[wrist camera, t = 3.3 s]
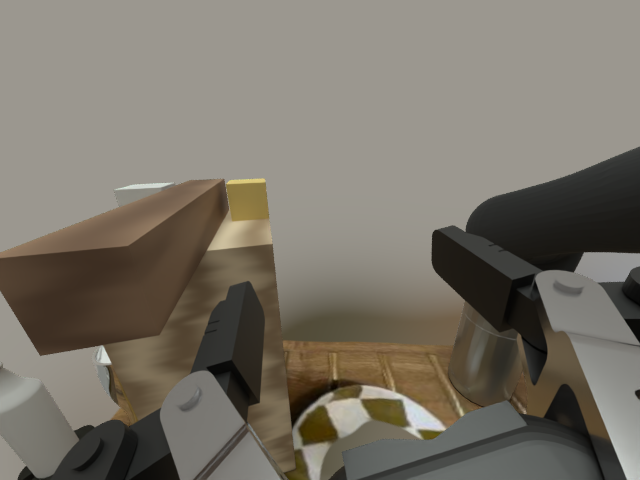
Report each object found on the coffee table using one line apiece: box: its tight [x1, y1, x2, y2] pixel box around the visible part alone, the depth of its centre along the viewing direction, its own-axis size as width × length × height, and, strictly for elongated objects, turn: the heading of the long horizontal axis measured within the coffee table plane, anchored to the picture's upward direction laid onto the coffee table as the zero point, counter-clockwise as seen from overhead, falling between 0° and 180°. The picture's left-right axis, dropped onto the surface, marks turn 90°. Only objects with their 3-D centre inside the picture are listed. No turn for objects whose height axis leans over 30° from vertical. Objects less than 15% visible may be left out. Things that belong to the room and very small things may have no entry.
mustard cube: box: [226, 179, 269, 221], centre depth 27 cm, size 4×4×4 cm
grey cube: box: [114, 183, 176, 207], centre depth 25 cm, size 4×4×4 cm
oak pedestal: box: [103, 210, 296, 473], centre depth 29 cm, size 14×14×32 cm
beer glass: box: [92, 345, 138, 426], centre depth 34 cm, size 7×7×15 cm
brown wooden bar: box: [0, 179, 229, 356], centre depth 19 cm, size 4×23×4 cm, turn 14°
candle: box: [0, 362, 95, 480], centre depth 21 cm, size 5×5×25 cm
